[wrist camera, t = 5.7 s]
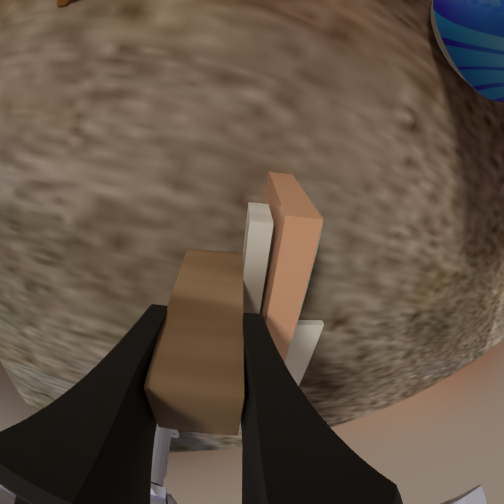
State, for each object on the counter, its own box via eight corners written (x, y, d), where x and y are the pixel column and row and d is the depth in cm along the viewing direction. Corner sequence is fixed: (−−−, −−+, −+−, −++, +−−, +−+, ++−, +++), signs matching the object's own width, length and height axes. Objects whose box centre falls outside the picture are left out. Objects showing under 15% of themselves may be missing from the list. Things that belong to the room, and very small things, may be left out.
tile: (272, 300, 17) (282, 377, 12) (251, 298, 17) (254, 376, 12) (295, 174, 14) (327, 220, 8) (269, 171, 13) (285, 215, 8)
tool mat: (294, 389, 23) (295, 394, 22) (194, 385, 22) (193, 390, 22) (322, 320, 18) (323, 325, 18) (189, 312, 18) (188, 317, 17)
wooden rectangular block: (250, 332, 14) (255, 457, 8) (189, 327, 14) (168, 450, 8) (268, 204, 11) (300, 332, 5) (188, 197, 11) (123, 317, 4)
